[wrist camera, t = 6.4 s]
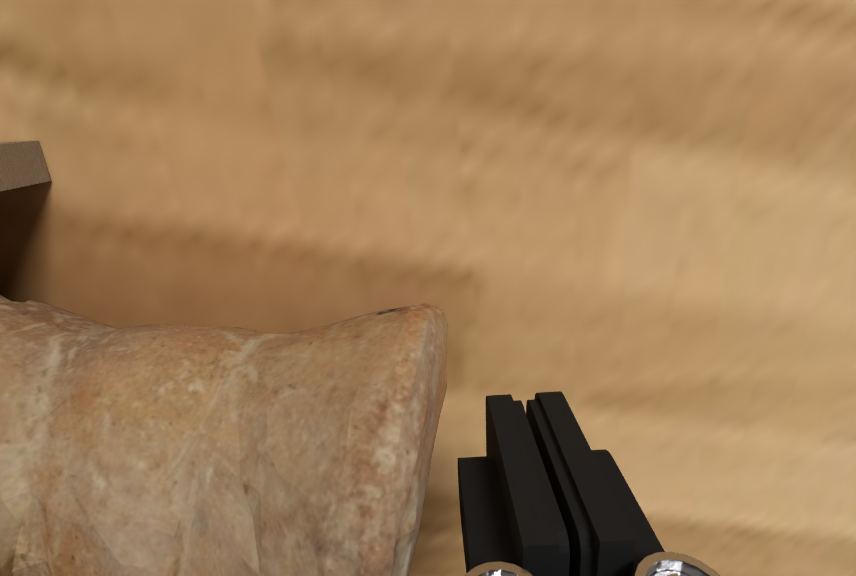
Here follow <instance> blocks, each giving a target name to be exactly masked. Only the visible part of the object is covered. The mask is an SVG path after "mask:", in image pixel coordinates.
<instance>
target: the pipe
mask: <svg viewBox="0 0 856 576" xmlns="http://www.w3.org/2000/svg"><path fill="white" fill-rule="evenodd" d="M447 331H448V324H447V321H446V319H445V316H444V313H443V311H442V309H440V308H437V307H434V306H430V305H427V304H422V305H416V306H408V307H402V308H395V309H387V310H383V311H378V312H374V313H370V314H366V315H361V316H358V317H355V318H351V319H348V320H345V321H342V322H339V323H335V324H332V325H329V326H325V327H320V328H315V329H310V330H305V331H300V332H295V333H290V334H265V333H260V332H256V331H252V330H247V329H243V328H237V327H211V326H186V325H143V326H135V327H128V328H120V329H115V328H113V327H111V326H108V325H105V324H102V323H99V322H96V321H93V320H90V319H88V318H85V317H82V316H79V315H76V314H73V313H71V312H68V311H65V310H62V309H59V308H57V307H54V306H51V305H48V304H45V303H41V302H37V301H32V300H28V301H26V302H16V301H15V302H12V301H10V300H8V299H6V298H5V297H3V296H1V295H0V576H408V575H409V571H410V567H411V562H412V558H413V554H414V550H415V545H416V541H417V537H418V533H419V528H420V523H421V517H422V511H423V505H424V499H425V493H426V487H427V481H428V475H429V469H430V463H431V457H432V452H433V447H434V442H435V437H436V432H437V426H438V421H439V417H440V413H441V409H442V405H443V401H444V397H445V393H446V388H447V379H446V353H447Z"/></svg>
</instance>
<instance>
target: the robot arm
mask: <svg viewBox="0 0 856 576" xmlns="http://www.w3.org/2000/svg"><path fill="white" fill-rule="evenodd" d="M486 452H487V456H486V457H468V458H458V482H459V500H460V514H461V525H462V535H463V544H464V554H465V564H466V573H467V574H465V575H464V576H720V575H719V574H718V573H717V572H716V571H715V570H714V569H712V568H711V567H709V566H708V565H706V564H705V563H703V562H702V561H700V560H697V559H695V558H692V557H690V556H688V555H685V554H680V553H675V552H665V551H664V549H663V548H662V546H661V544H660V542H659V540H658V539H657V537H656V535H655V533H654V531H653V530H652V528H651V526H650V524H649V522H648V521H647V519H646V517H645V515H644V513H643V511H642V510H641V508H640V506H639V504H638V502H637V501H636V499H635V497H634V495H633V493H632V492H631V490H630V488H629V486H628V484H627V483H626V481H625V479H624V477H623V475H622V473H621V472H620V470H619V468H618V466H617V464H616V463H615V461H614V459H613V457H612V456H611V454H610V453H609V452H608V451H607V450H591V449H590V447H589V445H588V443H587V441H586V439H585V437H584V435H583V433H582V431H581V429H580V427H579V425H578V423H577V421H576V419H575V417H574V415H573V413H572V411H571V409H570V407H569V405H568V403H567V401H566V399H565V397H564V395H563V393H562V392H543V393H536V394H535V400H527V406H526V413H525V410H524V407H523V404H522V402H521V401H520V400H519V401H513V399H512V396H511V395H510V394H509V395H492V396H486Z"/></svg>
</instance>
